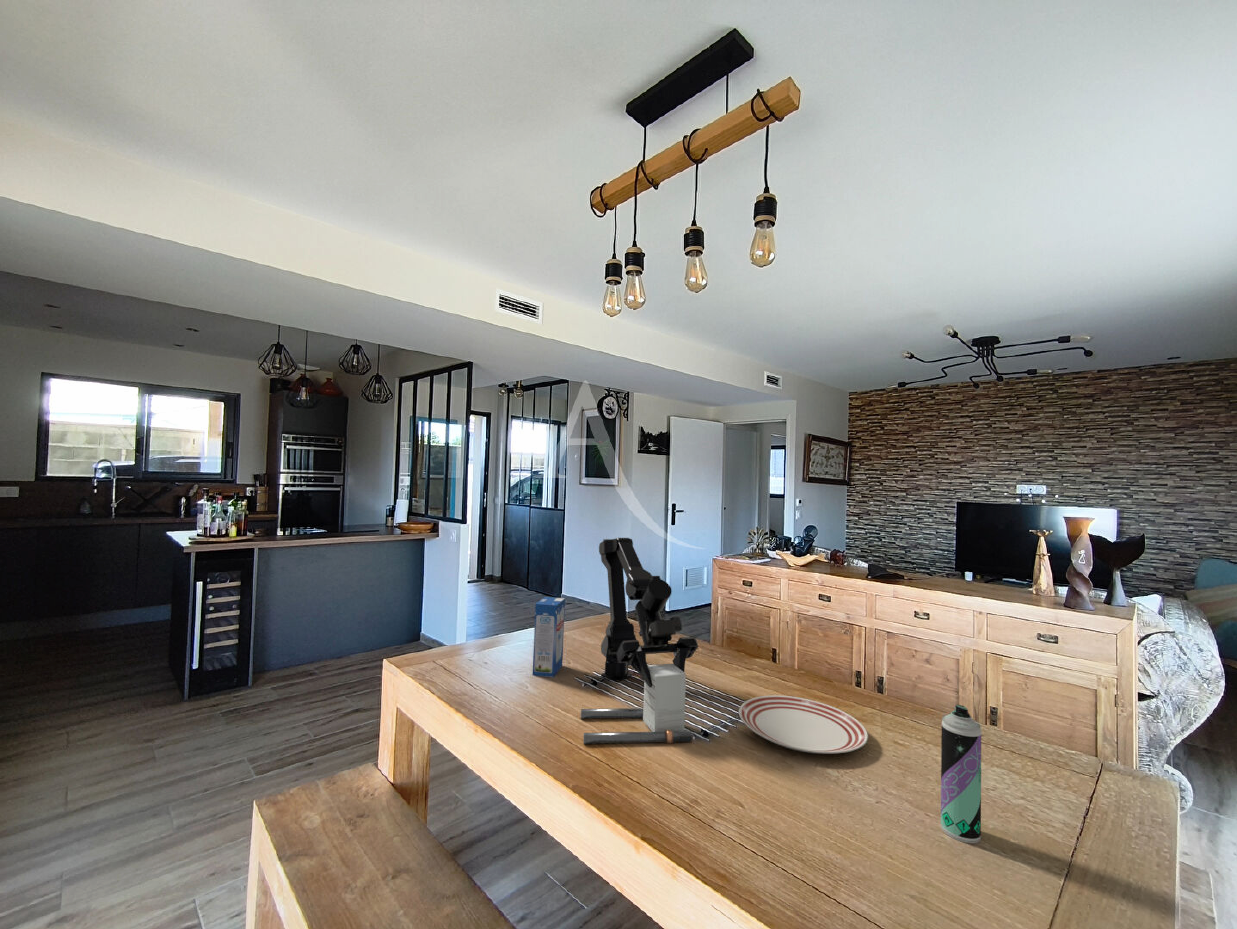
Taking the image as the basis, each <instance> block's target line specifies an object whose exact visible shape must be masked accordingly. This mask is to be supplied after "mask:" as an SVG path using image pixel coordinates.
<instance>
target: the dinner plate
mask: <svg viewBox="0 0 1237 929" xmlns="http://www.w3.org/2000/svg"><path fill="white" fill-rule="evenodd" d="M738 709H739V710H738V715H739V718H740V720H741V722H742V723H743V724H744V725H745V726H746V727H747V728H748V729H750V730H751V731H752V732H754V733H755V734H757V735H758V736H759V737H761V738H763V739H765V740H766V741H769V742H771V743H774V744H775V745H778V746H781V747H784V748H786V749H790V750H793V751H797V752H803V753H809V754H822V755H823V754H824V755H825V754H827V755H828V754H830V755H831V754H841V753H842V754H843V753H850V752H853V751H856V750H860V749H861V748H862V747H863V746H865V745H866V744H867V742H868V739H869V734H868V732H867V730H866V728H865V727H864V725H863V724H862V723H861V722H860V721H858V720H857V719H856V718H855V717H853V716H852V715H851V714H849V713H846V712H845V711H843V710H841V709H839V708H836V707H834V706H831V705H828V704H826V703H822V702H820V701H816V700H812V699H808V698H803V697H797V696H791V695H790V696H788V695H779V694H778V695H775V694H772V695H771V694H770V695H760V696H756V697H753V698H750V699H748V700H746V701H744V702H743V703H742V704H741V705H740V707H739V708H738Z"/></svg>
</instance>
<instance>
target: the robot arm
mask: <svg viewBox="0 0 1237 929" xmlns="http://www.w3.org/2000/svg"><path fill="white" fill-rule="evenodd" d="M633 541H634V540H633V539H632V538H631V537H615V538H608V539H607V538H606V539H605V538H604V539H603V540H602V542H600V543H599V546H598V552H599V555H600V557H601V558H600V559H601V563H602V564H603V566H604V567H605V568H606V571H607V582H608V583H607V585H608V586H607V587H608V600H609V601H608V602H609V614H610V620H609V623H608V624H607V626H606V628H605V635H604V638H603V640H602V642H601V644H600V651H601V652H600V653H601V654H602V655H603V656H604V657H605V662H604V672H602V673H601V676H602V677H604V678H606V679H609V680H611V681H615V682H620V681H623V680H626V679H628V678H632V677H633V674H632V673H629V667H632V669H634V670H635V671H636V672H637V674H638V675H639V676H640V677H641V678H642V680H643V681H645V682H646V684H647V685H648V686H649V687H652V680H651V676H650V673H649V669H648V666H647V665H648V662H647V655H653V654H664V653H665V654H666V653H667V654H668V653H673V659H672V664H674V665H675V666H676V667H678V668H679V669H680V670H682V671H683V672H684V673H685V670H686V669H685V666H686V659H690V658H692V657H693V655H694V653H695V652H696V651H697V649H698V648H699V644H698V640H697V639H696V638H695V637H694V636H683V637H679V639H677V641H676V643H669V642H670V641H671V640H672V636H673V635H675V636H676V634H677V632H681V631H682V630H683V625H682V620H681V618H680V616H672V617H670V618H669V619H662V616H661V613H660V612H661V611H662V610H663V609H664V607H665V606H666V605H667V602H668V600H669V599H670V597H671V595H672V592H673V591H672V587H671V586H670V584H669V583H668V582H666V581H665V580H663V579H662V578H661V576H660V575H652V574H651V572H649V571H647V570H646V569H644V568H643V566H642V563H641V561H640V558H639V557H638V554H637V552H636V550H635V548H634V542H633ZM624 573H625V575H624ZM624 576H625V577H626V583H625V579H624V578H625V577H624ZM626 596H627V597H628V599H629V600H630V601H638V602H637V603H636V605H635V606H634V612H633V614H634V616H636V617H637V622H638V625H639V632H638V634H639V637H641V638H642V642H643V645H642V644H640V641H639V640H638V639H637V637H636V634H635V627H634V624H633V623H632V622H630V620H629V619H628V618H627V616H628V614H627V604H626Z"/></svg>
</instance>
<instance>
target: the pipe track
mask: <svg viewBox="0 0 1237 929" xmlns="http://www.w3.org/2000/svg"><path fill="white" fill-rule="evenodd" d="M580 719H582V720H583V719H584V720H585V719H643V707H641V708H640V707H639V708H636V707H635V708H581V709H580ZM692 741H693V734H692V731H691V730H684V731H672V730H666V731H665V732H652V731H625V732H624V731H623V732H621V731H617V732H611V731H610V732H609V731H607V732H583V744H586V745H587V744H627V743H628V744H634V743H666V744H673V743H678V742H679V743H681V742H683V743H684V742H687V743H688V742H692Z"/></svg>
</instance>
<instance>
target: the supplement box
mask: <svg viewBox="0 0 1237 929" xmlns="http://www.w3.org/2000/svg"><path fill="white" fill-rule="evenodd" d="M647 666H648V669H649V673H650V676H651V680H652V687H649V686H648V685H647V684H646V682H645V681H644V680H643V681H644V684H643V686H644V687H643V707H642V708H643V718H642V721H643V723H645V725H646V727H648V728H649V729H650V732H665V731H666V730H672V731H685V722H686V721H685V716H686V715H685V713H686V686H687V685H686V683H687V682H686V681H687V680H686V679H687V674H686V672H685V671H684V672H683V671H682V670H680V669H679V668H678V667H676V666H675V665H674V664H673V663H663V664H649V665H648V664H647Z"/></svg>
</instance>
